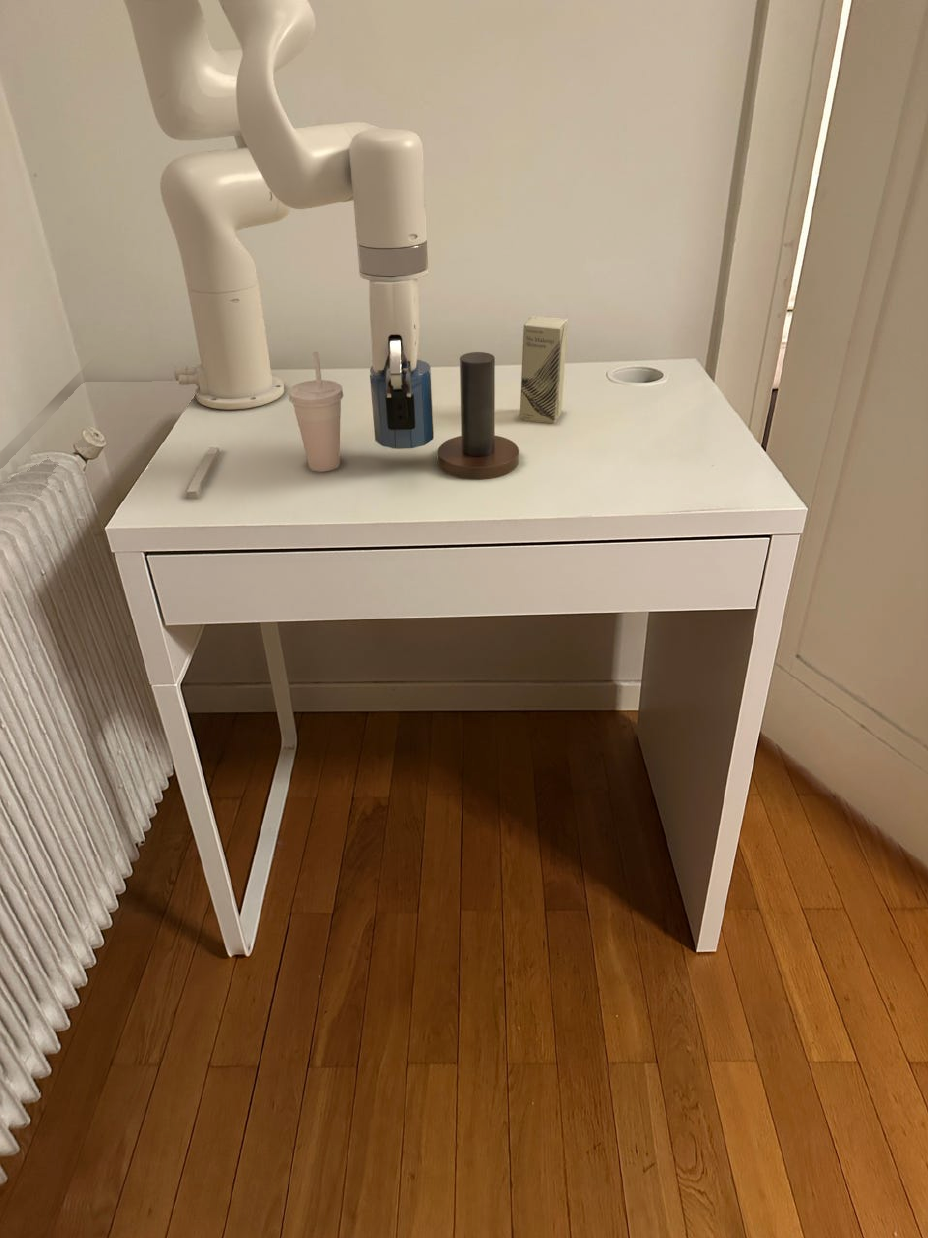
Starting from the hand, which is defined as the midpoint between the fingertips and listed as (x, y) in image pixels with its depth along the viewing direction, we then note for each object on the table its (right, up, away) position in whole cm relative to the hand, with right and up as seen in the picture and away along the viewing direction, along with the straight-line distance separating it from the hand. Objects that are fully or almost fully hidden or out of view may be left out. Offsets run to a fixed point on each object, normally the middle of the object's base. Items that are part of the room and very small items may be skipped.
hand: (403, 414), depth 107 cm
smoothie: (-10, -6, +4) cm, 12 cm away
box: (+18, +3, +15) cm, 24 cm away
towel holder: (+9, -5, +4) cm, 11 cm away
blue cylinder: (0, -2, +2) cm, 3 cm away
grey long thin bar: (-24, -7, +2) cm, 25 cm away
